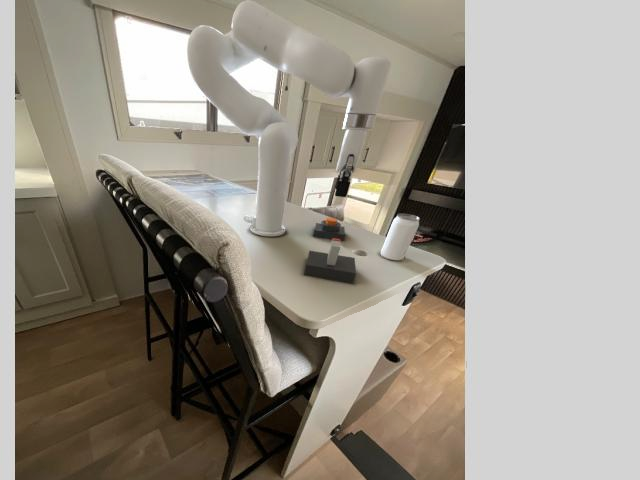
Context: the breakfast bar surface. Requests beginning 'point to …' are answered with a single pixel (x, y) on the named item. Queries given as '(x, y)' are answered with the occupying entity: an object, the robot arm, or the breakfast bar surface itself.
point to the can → (400, 236)
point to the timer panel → (330, 267)
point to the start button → (331, 221)
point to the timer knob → (333, 251)
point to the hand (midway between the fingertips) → (340, 192)
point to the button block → (329, 231)
